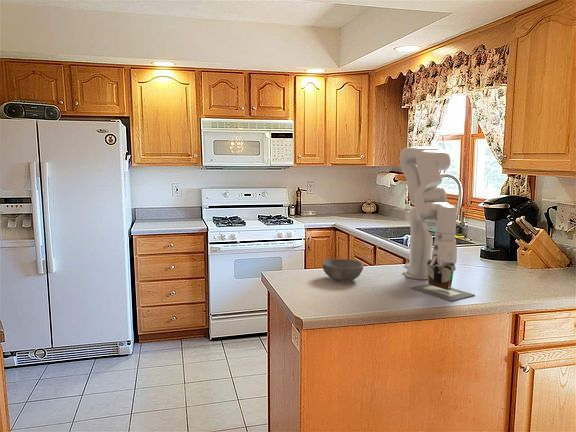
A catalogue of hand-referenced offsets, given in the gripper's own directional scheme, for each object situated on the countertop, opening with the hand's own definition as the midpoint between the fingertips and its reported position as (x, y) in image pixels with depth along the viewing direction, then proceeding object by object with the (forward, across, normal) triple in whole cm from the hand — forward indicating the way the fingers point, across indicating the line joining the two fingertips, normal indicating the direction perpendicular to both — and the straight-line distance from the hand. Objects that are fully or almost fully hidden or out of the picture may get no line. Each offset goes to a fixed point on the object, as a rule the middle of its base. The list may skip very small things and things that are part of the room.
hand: (442, 280), depth 184 cm
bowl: (+5, -23, +34) cm, 41 cm away
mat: (+5, 0, 0) cm, 5 cm away
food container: (+2, +1, 0) cm, 3 cm away
